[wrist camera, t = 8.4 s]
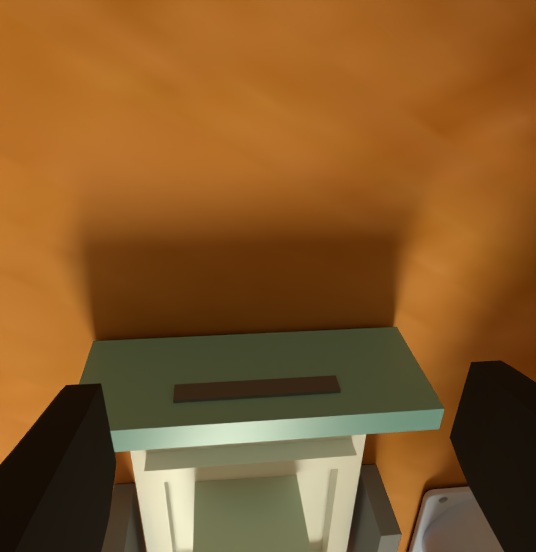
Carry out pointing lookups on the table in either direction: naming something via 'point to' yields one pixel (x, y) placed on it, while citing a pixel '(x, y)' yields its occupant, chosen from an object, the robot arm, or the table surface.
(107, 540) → the dock
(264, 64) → the table surface
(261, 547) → the block
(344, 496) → the tray
